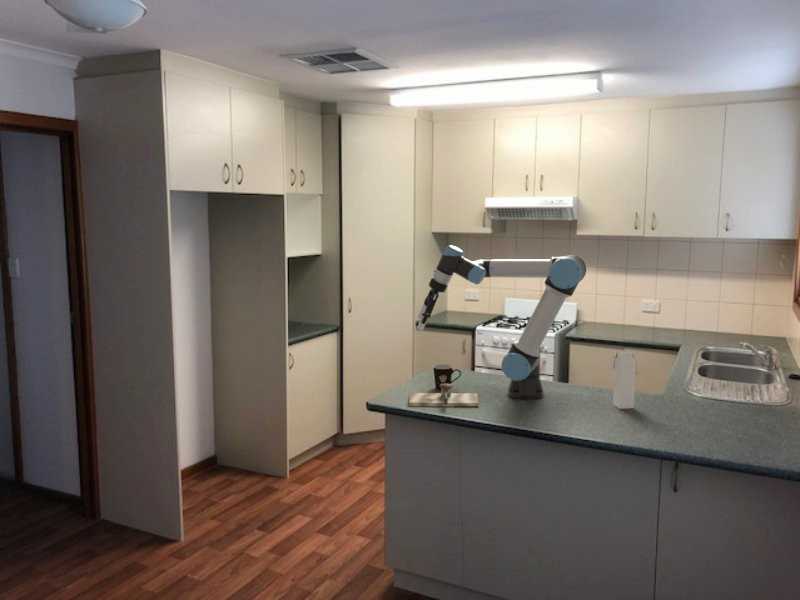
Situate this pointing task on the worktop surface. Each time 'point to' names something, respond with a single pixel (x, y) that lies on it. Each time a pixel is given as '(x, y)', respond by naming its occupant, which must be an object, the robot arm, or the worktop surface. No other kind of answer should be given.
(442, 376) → the coffee mug
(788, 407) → the worktop surface
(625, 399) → the milk
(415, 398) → the wooden board
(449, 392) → the dark grey square rod
